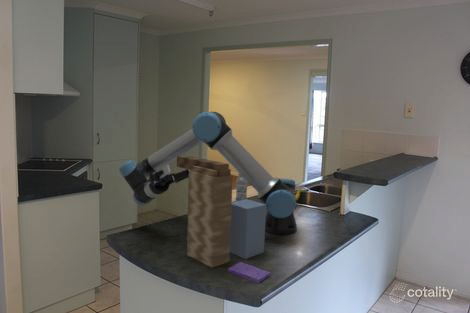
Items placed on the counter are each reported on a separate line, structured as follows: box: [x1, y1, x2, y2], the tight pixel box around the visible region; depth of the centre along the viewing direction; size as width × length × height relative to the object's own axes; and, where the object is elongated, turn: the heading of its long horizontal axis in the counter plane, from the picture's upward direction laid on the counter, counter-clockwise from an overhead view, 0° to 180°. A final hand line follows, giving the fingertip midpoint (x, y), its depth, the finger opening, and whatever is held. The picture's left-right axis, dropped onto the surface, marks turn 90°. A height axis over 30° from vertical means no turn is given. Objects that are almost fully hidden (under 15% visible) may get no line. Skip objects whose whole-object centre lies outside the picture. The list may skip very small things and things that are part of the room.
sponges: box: [227, 261, 271, 284], centre depth 126 cm, size 7×13×2 cm, turn 51°
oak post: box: [186, 165, 234, 269], centre depth 134 cm, size 14×8×33 cm, turn 44°
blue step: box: [230, 198, 267, 260], centre depth 143 cm, size 10×10×18 cm
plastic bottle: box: [234, 172, 249, 202], centre depth 202 cm, size 6×7×20 cm
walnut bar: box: [176, 154, 230, 177], centre depth 136 cm, size 24×4×4 cm, turn 44°
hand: (184, 166), depth 142 cm, fingers open, 13 cm apart
